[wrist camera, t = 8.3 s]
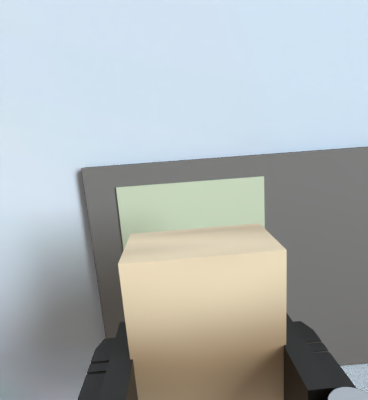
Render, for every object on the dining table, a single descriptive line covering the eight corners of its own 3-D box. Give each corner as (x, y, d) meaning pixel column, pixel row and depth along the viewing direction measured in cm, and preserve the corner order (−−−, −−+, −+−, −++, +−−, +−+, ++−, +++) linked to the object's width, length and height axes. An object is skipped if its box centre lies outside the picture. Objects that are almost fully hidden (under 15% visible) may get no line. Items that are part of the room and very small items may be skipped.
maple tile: (262, 411, 12) (285, 480, 10) (152, 422, 12) (147, 495, 9) (259, 223, 10) (286, 250, 8) (130, 233, 10) (117, 264, 8)
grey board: (492, 137, 15) (503, 137, 14) (461, 349, 17) (469, 355, 17) (83, 167, 14) (80, 168, 14) (114, 380, 17) (112, 387, 16)
